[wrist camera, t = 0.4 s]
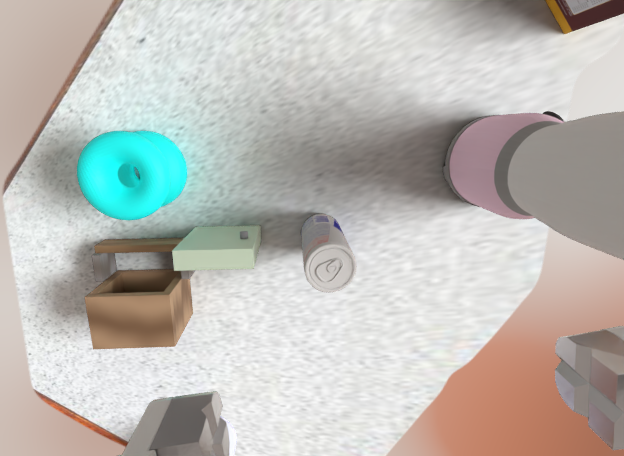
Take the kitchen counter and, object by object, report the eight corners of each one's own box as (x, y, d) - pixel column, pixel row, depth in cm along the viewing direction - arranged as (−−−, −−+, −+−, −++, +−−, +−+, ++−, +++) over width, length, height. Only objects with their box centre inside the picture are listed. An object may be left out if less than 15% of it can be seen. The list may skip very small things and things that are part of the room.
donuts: (181, 204, 43) (98, 235, 43) (201, 190, 52) (134, 215, 53) (140, 117, 40) (53, 150, 41) (170, 119, 50) (99, 146, 50)
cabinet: (105, 239, 53) (68, 261, 45) (193, 237, 54) (174, 258, 45) (116, 315, 56) (84, 349, 48) (200, 312, 57) (183, 346, 48)
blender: (482, 222, 55) (723, 338, 25) (422, 168, 53) (606, 223, 22) (563, 135, 53) (945, 144, 22) (504, 75, 51) (839, -11, 20)
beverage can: (296, 245, 55) (298, 287, 40) (306, 208, 54) (312, 238, 39) (333, 255, 56) (348, 299, 41) (344, 218, 54) (363, 251, 40)
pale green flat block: (195, 221, 53) (171, 243, 43) (260, 219, 54) (252, 242, 43) (197, 243, 54) (174, 270, 44) (261, 241, 55) (253, 268, 44)
